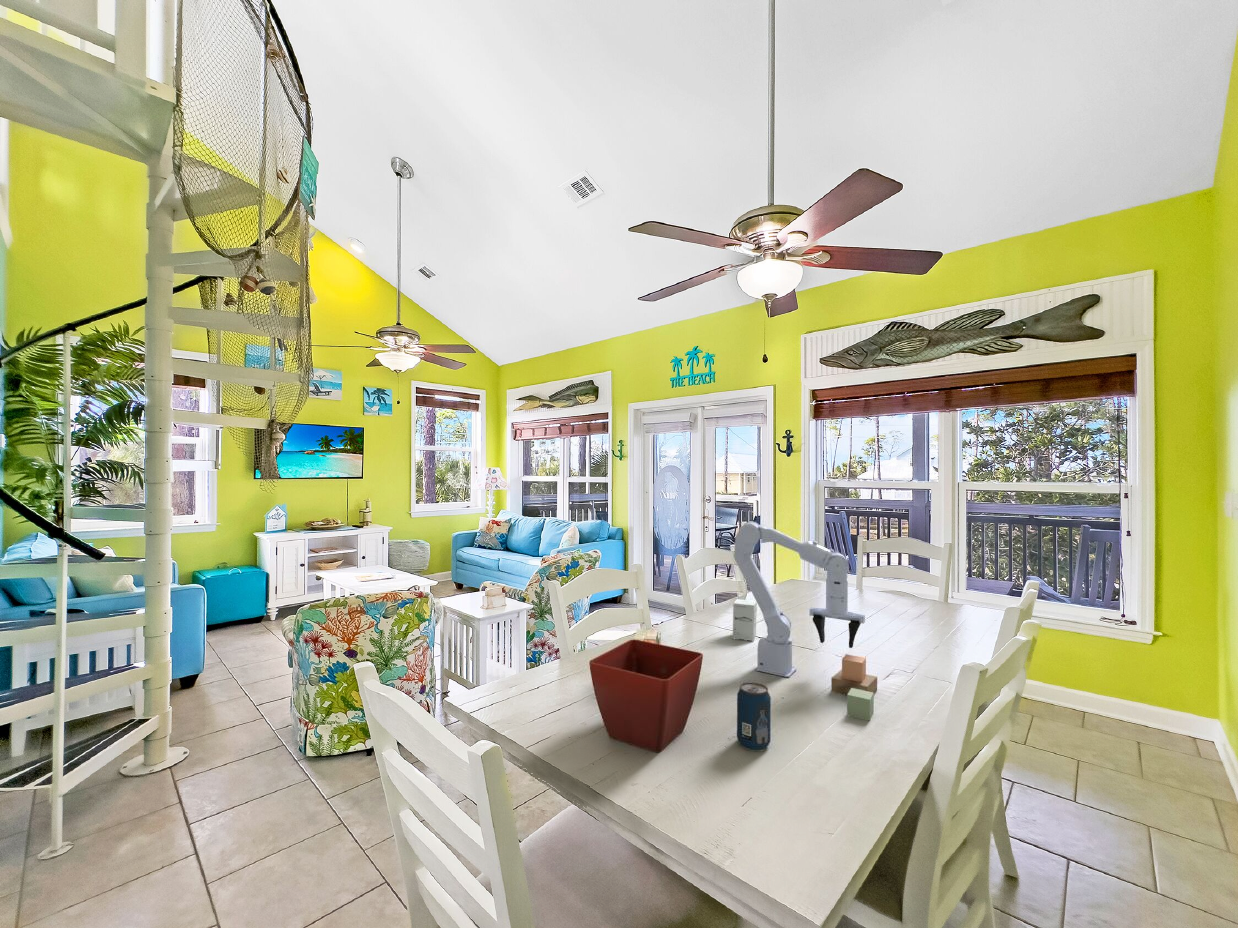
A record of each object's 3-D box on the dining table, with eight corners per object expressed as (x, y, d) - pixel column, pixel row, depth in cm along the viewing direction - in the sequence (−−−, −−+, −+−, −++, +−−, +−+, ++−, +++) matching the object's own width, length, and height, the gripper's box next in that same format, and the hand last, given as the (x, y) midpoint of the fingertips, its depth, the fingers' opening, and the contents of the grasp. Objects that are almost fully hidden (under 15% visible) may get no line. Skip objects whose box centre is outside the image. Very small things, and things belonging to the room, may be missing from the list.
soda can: (745, 733, 120) (746, 678, 120) (775, 743, 116) (776, 686, 116) (730, 745, 115) (731, 688, 115) (761, 756, 110) (762, 697, 111)
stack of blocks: (640, 660, 167) (641, 620, 167) (661, 661, 166) (661, 621, 166) (630, 687, 146) (631, 641, 146) (654, 689, 144) (654, 642, 145)
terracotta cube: (841, 678, 144) (841, 659, 144) (845, 672, 148) (845, 654, 148) (862, 682, 141) (862, 663, 141) (865, 676, 145) (865, 657, 145)
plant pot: (665, 766, 106) (666, 679, 107) (586, 740, 117) (586, 661, 117) (704, 728, 123) (704, 653, 123) (631, 708, 133) (632, 638, 133)
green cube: (847, 715, 130) (847, 694, 130) (851, 708, 134) (851, 687, 134) (870, 721, 127) (870, 699, 127) (873, 713, 131) (873, 692, 131)
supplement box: (732, 639, 188) (732, 602, 189) (735, 633, 195) (736, 598, 195) (753, 642, 186) (754, 605, 186) (756, 636, 192) (757, 600, 193)
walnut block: (831, 693, 144) (831, 677, 144) (842, 683, 151) (842, 668, 151) (867, 702, 138) (867, 686, 138) (877, 691, 145) (877, 676, 145)
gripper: (806, 595, 155) (806, 643, 154) (861, 602, 146) (861, 653, 146) (813, 591, 160) (812, 637, 160) (866, 597, 152) (866, 646, 152)
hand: (836, 644), depth 154 cm, fingers open, 7 cm apart
